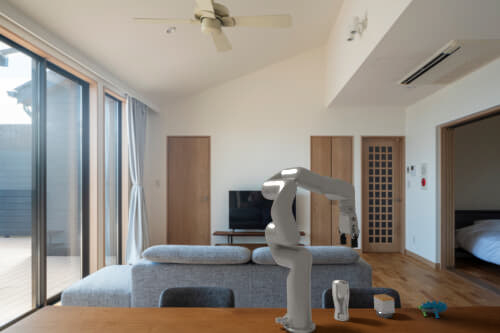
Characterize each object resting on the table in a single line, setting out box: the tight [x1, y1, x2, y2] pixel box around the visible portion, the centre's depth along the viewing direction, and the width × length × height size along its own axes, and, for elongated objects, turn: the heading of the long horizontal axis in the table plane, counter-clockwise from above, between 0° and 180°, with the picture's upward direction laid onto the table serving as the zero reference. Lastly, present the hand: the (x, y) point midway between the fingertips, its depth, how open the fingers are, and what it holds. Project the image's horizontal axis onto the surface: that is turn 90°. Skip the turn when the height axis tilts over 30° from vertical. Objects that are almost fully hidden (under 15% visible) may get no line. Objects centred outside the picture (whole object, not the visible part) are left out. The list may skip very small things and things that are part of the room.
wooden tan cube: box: [373, 293, 396, 314], centre depth 127 cm, size 6×6×6 cm
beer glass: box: [331, 279, 350, 322], centre depth 124 cm, size 7×7×15 cm
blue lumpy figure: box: [417, 299, 448, 319], centre depth 124 cm, size 11×6×10 cm
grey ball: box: [375, 310, 394, 319], centre depth 126 cm, size 6×6×5 cm
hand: (348, 246), depth 138 cm, fingers open, 9 cm apart
